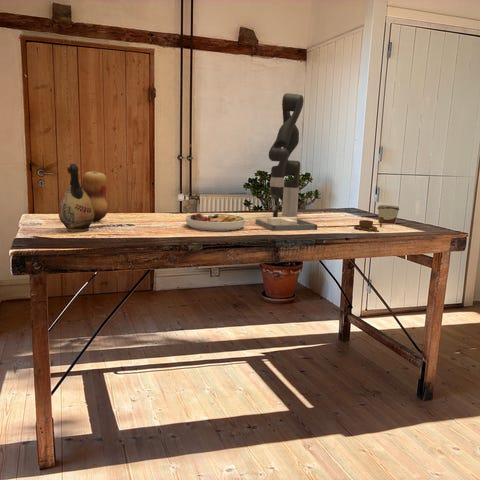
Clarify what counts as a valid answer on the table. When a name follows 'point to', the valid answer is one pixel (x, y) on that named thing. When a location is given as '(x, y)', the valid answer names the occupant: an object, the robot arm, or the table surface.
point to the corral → (302, 225)
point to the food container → (388, 213)
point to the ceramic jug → (76, 205)
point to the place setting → (368, 225)
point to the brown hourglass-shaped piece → (96, 192)
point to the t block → (282, 220)
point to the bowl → (215, 222)
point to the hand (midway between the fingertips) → (275, 217)
